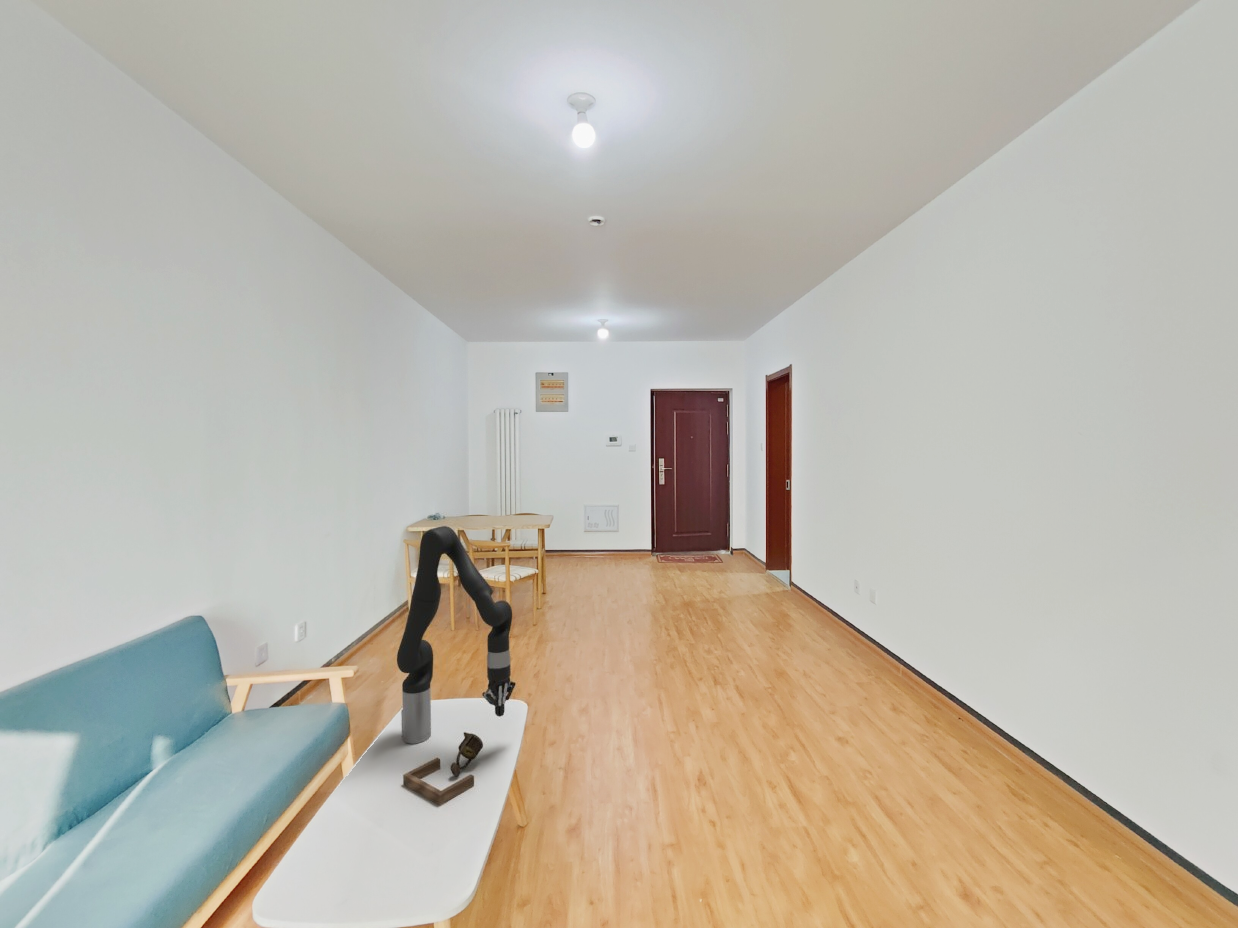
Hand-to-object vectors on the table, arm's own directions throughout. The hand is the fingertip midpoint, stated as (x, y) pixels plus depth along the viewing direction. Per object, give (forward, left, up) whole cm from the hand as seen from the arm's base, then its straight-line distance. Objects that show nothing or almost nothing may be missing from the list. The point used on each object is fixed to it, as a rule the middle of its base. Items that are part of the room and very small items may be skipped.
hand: (499, 715), depth 192 cm
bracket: (0, -22, -12) cm, 25 cm away
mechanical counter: (0, -13, -12) cm, 18 cm away
